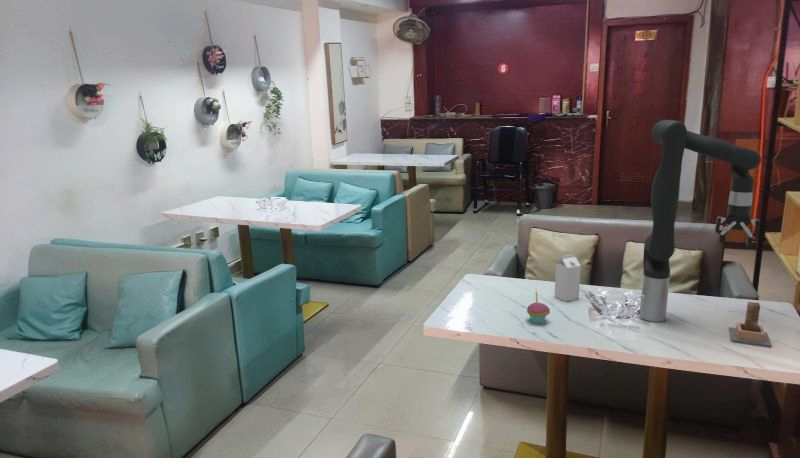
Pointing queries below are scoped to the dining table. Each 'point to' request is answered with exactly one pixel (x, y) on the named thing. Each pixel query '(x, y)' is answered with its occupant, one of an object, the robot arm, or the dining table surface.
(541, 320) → the cupcake
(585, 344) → the dining table surface
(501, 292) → the dining table surface
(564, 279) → the milk carton
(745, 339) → the square peg socket
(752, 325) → the wooden square peg
